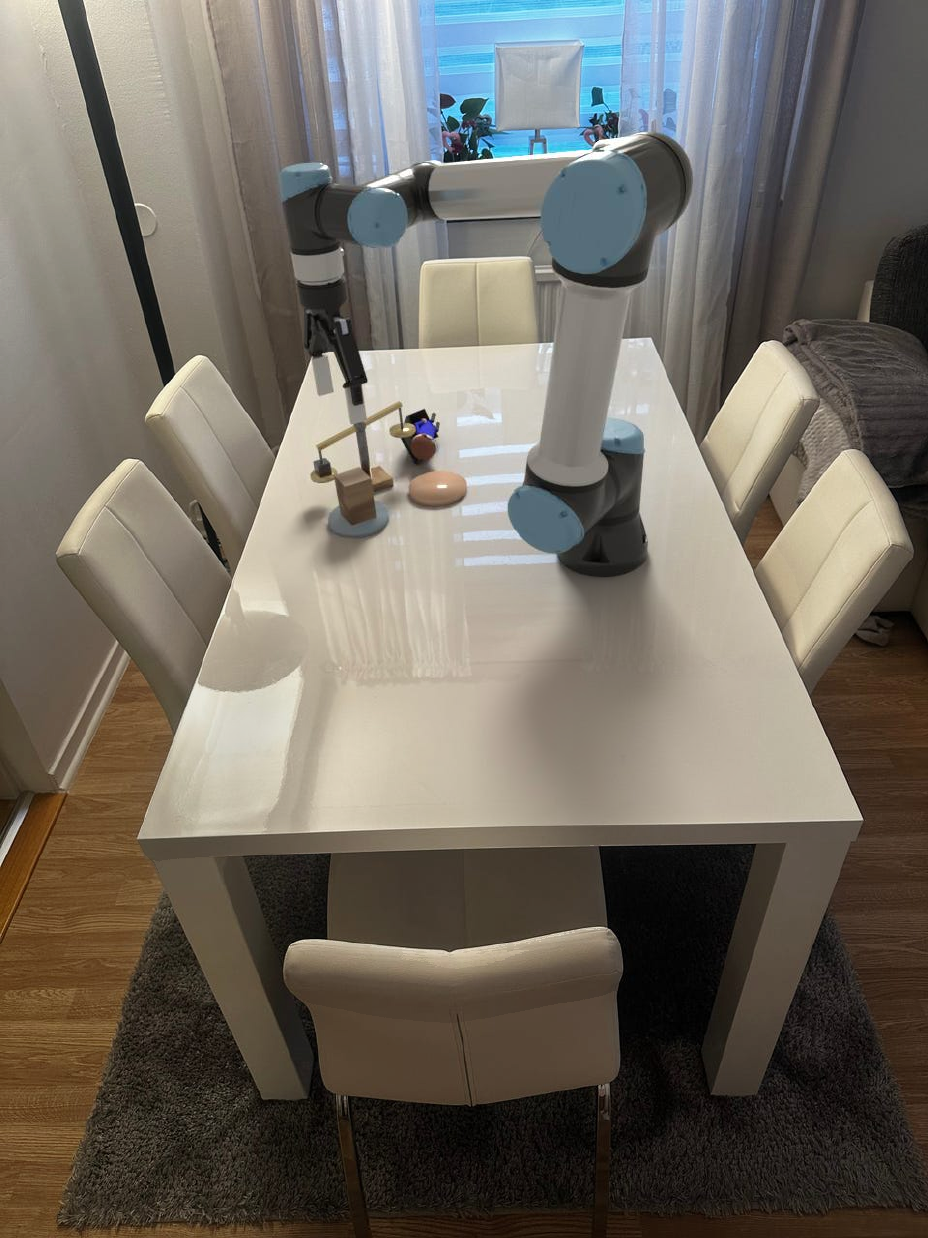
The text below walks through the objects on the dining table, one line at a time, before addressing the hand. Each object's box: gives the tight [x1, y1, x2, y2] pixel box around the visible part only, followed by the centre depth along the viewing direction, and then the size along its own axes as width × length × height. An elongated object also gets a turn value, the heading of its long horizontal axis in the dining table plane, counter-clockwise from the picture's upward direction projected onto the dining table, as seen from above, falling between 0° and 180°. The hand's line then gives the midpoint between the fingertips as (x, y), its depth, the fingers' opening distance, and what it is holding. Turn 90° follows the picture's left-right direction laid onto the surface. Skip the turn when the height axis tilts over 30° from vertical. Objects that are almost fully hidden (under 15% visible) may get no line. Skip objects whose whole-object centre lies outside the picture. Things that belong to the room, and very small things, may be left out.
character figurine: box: [400, 408, 441, 466], centre depth 180 cm, size 8×7×15 cm
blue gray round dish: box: [327, 500, 390, 539], centre depth 162 cm, size 11×11×1 cm
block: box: [334, 466, 377, 526], centre depth 159 cm, size 5×5×8 cm
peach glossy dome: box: [408, 470, 468, 507], centre depth 169 cm, size 11×11×1 cm
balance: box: [309, 401, 416, 493], centre depth 168 cm, size 6×22×15 cm, turn 120°
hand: (341, 407), depth 149 cm, fingers open, 13 cm apart
